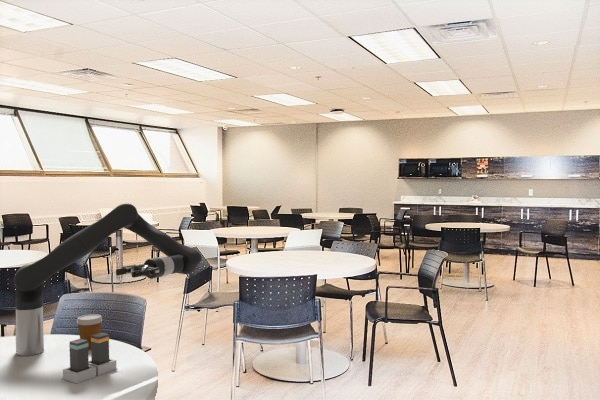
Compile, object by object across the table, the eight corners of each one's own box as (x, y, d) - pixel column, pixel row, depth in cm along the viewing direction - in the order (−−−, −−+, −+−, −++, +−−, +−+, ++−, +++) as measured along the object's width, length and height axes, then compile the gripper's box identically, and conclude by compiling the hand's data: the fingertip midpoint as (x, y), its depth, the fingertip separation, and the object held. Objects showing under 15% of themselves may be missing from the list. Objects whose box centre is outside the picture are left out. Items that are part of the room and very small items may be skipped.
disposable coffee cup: (94, 351, 203) (93, 320, 203) (71, 350, 205) (71, 319, 204) (107, 344, 212) (107, 314, 212) (86, 342, 214) (85, 313, 214)
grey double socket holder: (61, 382, 172) (60, 369, 172) (103, 367, 186) (103, 355, 185) (76, 387, 168) (75, 374, 168) (118, 372, 181) (118, 360, 181)
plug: (91, 370, 179) (90, 335, 179) (101, 367, 183) (101, 332, 182) (99, 373, 177) (98, 337, 177) (109, 369, 181) (108, 334, 180)
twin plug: (70, 378, 173) (69, 341, 172) (81, 374, 176) (80, 338, 176) (77, 380, 170) (77, 343, 170) (89, 376, 174) (88, 340, 173)
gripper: (146, 256, 207) (111, 261, 194) (172, 258, 200) (137, 264, 186) (146, 275, 208) (111, 282, 194) (172, 278, 200) (138, 286, 186)
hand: (124, 273), depth 190 cm, fingers open, 8 cm apart
